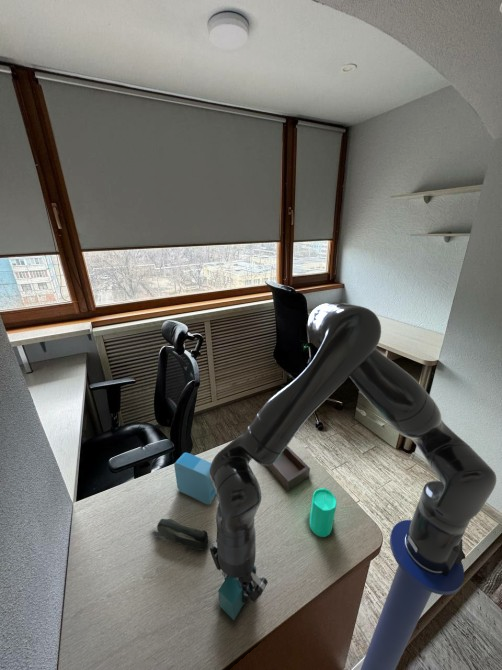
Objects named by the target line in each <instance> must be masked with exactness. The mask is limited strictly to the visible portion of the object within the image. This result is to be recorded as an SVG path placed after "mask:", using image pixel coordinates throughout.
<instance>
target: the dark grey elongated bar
mask: <svg viewBox="0 0 502 670" xmlns="http://www.w3.org/2000/svg"><path fill="white" fill-rule="evenodd" d="M156 530H157V531H153V532H152V534H153V535H154V536H158V537H162V538H165V539H168V540H169V541H171V542H173V543H177V544H180V545H182V546H184V547H188V548H191V549H194V550H198V551H205V549H206V548H207V546H208V545H209V532H208V531H207V530H204V529H200V528H197V527H193V526H191V525H188V524H187V525H186V524H184V523H182V522H179V521H177V520H175V519H172V518H161V519H160V520H159V522H158V523H157V526H156Z"/></svg>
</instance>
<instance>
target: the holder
mask: <svg viewBox="0 0 502 670" xmlns="http://www.w3.org/2000/svg"><path fill="white" fill-rule="evenodd" d="M266 467H267V468H268V469H269V470H270V471H271V473H272V474H273V475H274V477H276V479H277V480H278V481H279V482H280V483H281V484H282V486H283V487H284V489H286V490H287V491H289V490H291V489H292V488H294V487H296V486H297V485H298V484H300V483H302V482H303V481H305V480H306V479H308V478H309V477H310V471H311V468H310V467H309V466H308V465H307V463H306V462H304V461H303V459H301V457H300V456H299V455H297V453H295V452H294V451H293V450H292V449H291V448H290V447H289V446H288V445H287V447H286V448H285V449H284V451H283V452H282V453H281V455H280V456H279V458H278V459H277V460H276V461H275V462H274V463H273V464H271V465H266Z"/></svg>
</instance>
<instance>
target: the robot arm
mask: <svg viewBox="0 0 502 670" xmlns="http://www.w3.org/2000/svg"><path fill="white" fill-rule="evenodd" d="M306 326H307V327H306V329H307V335H308V338H309V340H310V342H311V343H312V345H313V346H314V347H315V348H316V349H317V352H316V354H315V355H314V357H313V359H312V360H311V361H310V363H309V364H308V365H307V367H305V369H303V371H302V372H301V373H299V375H298V376H297V377H296V378H294V379H293V380H292V381H291V382H290V383H288V384H287V385H285V386H284V387H283V388H281V389H280V390H278V391H277V392H276V393H275V394H273V395H272V396H271V397H270V398H269V399H268V400H266V402H265V403H264V404H263V405H262V407H261V408H260V409H259V411H258V412H257V413H256V415H255V416H254V418H253V419H252V420H251V422H250V423H249V425H248V426H247V427H246V429H245V430H244V431H243V432H242V433H241V434H239V435H238V436H236V437H235V438H234V439H233V440H232V441H231V442H230V443H228V444H227V445H226V446H224V447H223V448H222V449H221V450H220V451H219V452H217V454H216V455H215V456H214V458H213V459H212V461H211V466H210V470H209V476H210V480H211V483H212V485H213V488H214V491H215V493H216V495H215V497H216V498H217V501H218V504H217V507H216V511H215V512H216V513H215V520H216V521H215V522H216V523H215V524H216V537H215V538H216V539H215V541H214V542H213V543H212V545H210V547H209V552H210V554H211V557H212V560H213V562H214V565H215V568H216V570H218V571H222V572H221V574H222V577H223V579H224V580H223V581H225V579H226V578H227V576H230V577H233V578H235V580H236V581H237V584H238V587H239V588H240V589H241V590H242V602H243V603H244V604H243V605H246V604H249V603H250V601H251V602H252V603H255V602H256V601H257V600H258V599H259V598H260V597H261V596H262V594H263V592H264V590H265V589H266V586H268V582H269V581H268V580H267V578H266V577H259V576H258V575H257V569H256V570H255V567H254V565H255V562H256V552H257V549H256V545H257V543H256V528H255V516H256V515H257V512H258V510H259V507H260V505H261V502H262V489H261V485H260V483H259V481H258V479H257V477H256V475H255V473H254V472H253V470H252V468H251V467H250V464H249V463H250V462H251V461H252V459H253V461H255V462H256V463H258V464H260V465H262V466H267V465H271V464H273V463H274V462H275V461H276V460H277V459H278V458H279V456H280V455H281V453H282V452H283V451H284V449H285V448H286V447H287V446H288V445H289V444H290V443H291V442H292V441H293V439H294V437H295V436H296V435H297V433H298V431H299V430H300V429H301V428H302V427H303V425H304V424H305V423H306V422H307V420H308V419H309V418H310V417H311V416H312V415H313V413H314V412H316V410H318V408H319V407H320V406H321V405H322V404H324V402H326V400H327V399H328V398H329V397H330V396H331V395H333V393H334V392H335V391H336V390H337V389H338V388H339V387H340V386H341V385H342V384H344V382H345V381H346V380H347V379H348V378H350V380H351V381H352V382H353V383H354V384H355V386H356V388H357V389H358V390H359V391H360V393H361V394H362V395H363V396H364V398H366V400H367V401H368V402H369V403H370V404H371V406H372V407H373V408H374V410H376V412H377V413H378V414H379V415H380V417H382V418H383V419H384V420H385V422H386V423H387V424H388V425H389V426H390V427H391V428H392V429H393V430H394V431H395V432H397V434H399V435H401V436H403V437H405V438H408V439H410V440H411V441H412V442H413V443H414V444H415V445H416V447H417V448H418V449H419V450H420V453H421V454H422V456H423V457H424V458H425V460H426V462H427V464H428V465H429V467H430V468H431V470H432V471H433V472H434V474H435V475H436V476H437V478H438V479H439V480H431V481H428V482H427V483H426V484H424V486H423V487H422V491H421V493H420V497H419V499H418V502H417V505H416V507H415V510H414V514H413V516H412V519H411V520H412V521H411V524H410V527H409V530H408V532H407V534H406V537H405V540H404V544H405V548H406V551H407V553H408V555H409V556H410V558H411V559H412V560H413V562H414V563H415V564H416V565H418V566H419V567H420V568H421V569H423V570H425V571H426V572H429V573H431V574H436V575H439V574H442V575H444V576H446V577H447V576H448V574H449V572H450V570H451V568H452V566H453V564H454V562H455V563H456V564H458V565H460V563H461V562H462V563H463V560H465V559H466V554H465V553H464V551H463V536H464V534H465V532H466V530H467V528H468V527H469V524H470V523H471V520H472V519H474V518H475V517H476V516H477V515H478V514H479V513H480V512H481V511H482V509H483V507H484V506H485V504H486V503H487V501H488V499H489V498H490V496H491V495H492V493H493V491H494V489H495V488H496V485H497V475H496V472H495V471H494V470H493V468H491V466H490V465H489V464H488V463H487V462H486V461H485V460H484V459H483V458H482V457H481V455H479V454H478V453H477V452H476V450H475V449H473V448H472V447H471V446H470V445H469V444H468V443H467V442H465V441H464V440H463V439H462V438H461V437H460V436H459V435H457V434H456V433H455V432H454V431H453V430H452V429H451V428H450V427H449V426H448V425H447V424H446V423H445V422H444V421H443V419H442V414H441V411H440V408H439V406H438V405H437V403H436V402H435V400H434V399H433V398H432V397H431V395H430V394H429V393H428V392H427V391H426V389H425V388H424V386H423V385H421V383H420V382H418V380H416V378H415V377H413V375H411V374H410V373H408V372H407V371H406V370H405V369H403V368H402V366H401V367H400V365H398V364H397V363H396V362H394V361H392V360H391V359H390V358H388V357H387V356H386V355H384V354H383V353H382V352H381V351H379V350H378V348H377V347H378V345H379V343H380V340H381V337H382V336H381V335H382V325H381V321H380V319H379V318H378V316H377V314H376V313H375V312H373V311H372V310H371V309H369V308H367V307H364V306H362V305H358V304H351V303H346V302H345V303H344V302H336V301H335V302H326V303H322V304H320V305H318V306H316V307H315V308H314V309H313V310H312V311H311V312H310V314H309V316H308V320H307V325H306Z"/></svg>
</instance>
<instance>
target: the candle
mask: <svg viewBox="0 0 502 670" xmlns="http://www.w3.org/2000/svg"><path fill="white" fill-rule="evenodd" d="M336 509H337V498H336V496H335V495H334V493H332V491H330V490H329V489H328V488H325V487H321V488H318V489H317V488H316V490H314V492H313V494H312V498H311V505H310V513H309V528H310V530H311V531H312V533H313V534H315V535H317V536H318V537H320V538H321V537H323V538H326V537H328V536H330V534H331V533H332V531H333V525H334V520H335V515H336Z"/></svg>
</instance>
